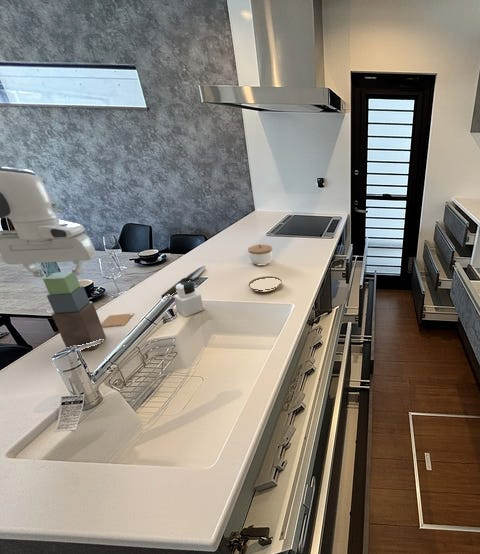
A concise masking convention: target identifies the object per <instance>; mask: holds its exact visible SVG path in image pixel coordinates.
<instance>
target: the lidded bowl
mask: <svg viewBox="0 0 480 554" xmlns="http://www.w3.org/2000/svg"><path fill="white" fill-rule="evenodd" d="M247 252H248V257H249V259H250V261H251V262H252V263H253V264H254V265H255V264H266V263H270V262H271V261H272V258H273V247H272V246H271V245H269V244H256V245H255V244H254V245H251V246H249V247H248V248H247Z"/></svg>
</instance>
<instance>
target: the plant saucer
mask: <svg viewBox="0 0 480 554" xmlns="http://www.w3.org/2000/svg"><path fill="white" fill-rule="evenodd" d="M265 278H275V279H278V280H280V281H281V284H280V285H278V286H279V287H280V286H281V285H282V283H283V281H282V278H280V277H277V276H270V275H269V276H259V277H256V278H254V279H252V280H250V281H249V282H248V287H249V288H250V289H251V290H253V291H254V290H258V289H253V288H251V287H250V284H251V283H253V282H254V281H256V280H259V279H265ZM278 286H277V287H278ZM279 287H278V288H279ZM274 288H276V287H274ZM274 288H271V289H274ZM265 290H270V289H265ZM258 291H263V290H258Z"/></svg>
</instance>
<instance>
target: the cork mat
mask: <svg viewBox="0 0 480 554" xmlns="http://www.w3.org/2000/svg"><path fill="white" fill-rule="evenodd" d="M130 314H131V313H120V314H111V315H108V317H106V318H105V319H104V320H103V321H102V322H100V323H101V325H102V328H112V327H122V325H124V326H125V325H126V324H127V323H128V322H129V321H130V319H131V318H132V317H133V316H132V315H130ZM132 314H134V315H135V313H132ZM131 316H132V317H131ZM130 317H131V318H130ZM129 318H130V319H129ZM128 320H129V321H128ZM127 321H128V322H127ZM126 322H127V323H126ZM125 323H126V324H125Z"/></svg>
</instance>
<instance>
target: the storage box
mask: <svg viewBox="0 0 480 554" xmlns="http://www.w3.org/2000/svg"><path fill="white" fill-rule="evenodd" d="M95 307H96V306H95V305H94V302H93V301H89V303H88V304H87V305H86V306H85V307H83V308H82V309H81V310H80V311H79V312H67V313H54V312H53V313H52V314H51V317H52V319H53V321H54V324H55V326H56V328H57V330H58V332H59V335H60V337H61V339H62V341H63V343H64V345H65V347H66V349H67V347H70V346H73V345H82V344H86V343H90V342H93V341H96V340H99V339H104V338H105V339H106V338H107V336H106V333H105V331H104V327H102V325H101V323H102V322H101V321H100V317H99V315H98V313H97V309H96V308H95ZM105 339H104V340H105ZM100 345H101V344H97V345H95V346H91V347H89V348H85V349H83V350H81V351H80V352H88V351H96V349H98V348H99V346H100Z"/></svg>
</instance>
